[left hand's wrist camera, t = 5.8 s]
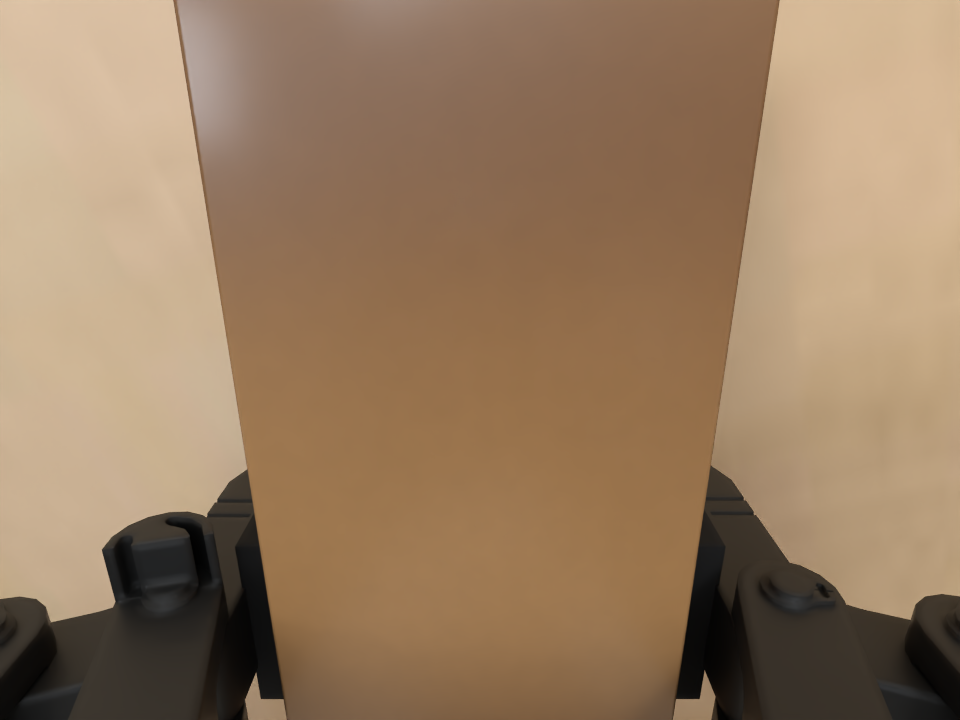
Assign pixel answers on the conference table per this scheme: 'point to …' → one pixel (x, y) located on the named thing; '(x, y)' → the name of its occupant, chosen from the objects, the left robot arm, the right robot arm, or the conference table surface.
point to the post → (478, 333)
